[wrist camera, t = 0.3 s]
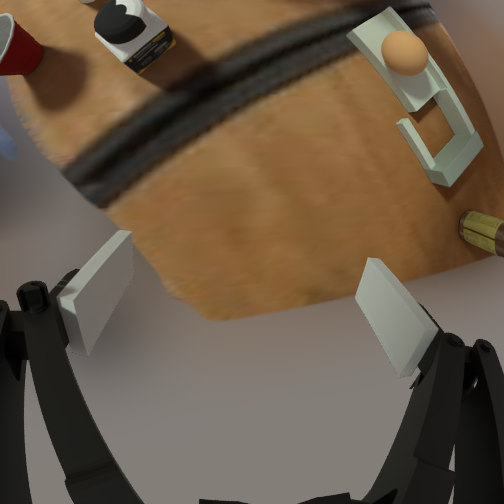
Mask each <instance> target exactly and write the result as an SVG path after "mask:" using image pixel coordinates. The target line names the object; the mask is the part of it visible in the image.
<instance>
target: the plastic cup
mask: <svg viewBox="0 0 504 504" xmlns="http://www.w3.org/2000/svg"><path fill="white" fill-rule="evenodd" d="M42 55H43V49H42V47H41V45H40V44H39V43H38V42H37V41H36V40H35V39H34V38H33V37H32V36H31V35H30V34H28V33H27V32H26V31H25V30H24V29H23V28H21V27H20V25H19V24H17V22H16V21H15V20H14V17H13V16H12V15H10V14H9V13H4V14H1V15H0V76H3V75H25V74H29V73H31V72H32V71H33V70H34V69H35V68H36V67H37V66H38V64H39V63H40V61H41V58H42Z"/></svg>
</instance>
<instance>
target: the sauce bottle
mask: <svg viewBox="0 0 504 504" xmlns="http://www.w3.org/2000/svg"><path fill="white" fill-rule="evenodd" d="M459 233H460V236H461V238H462V239H464V240H466V241H467V242H469V243H471V244H473V245H475V246H478V247H480V248H482V249H484V250H487V251H489V252H491V253H493V254H495V255H497V256H501V257H504V220H502V219H499V218H496V217H493V216H490V215H487V214H483V213H480V212H477V211H467V212H466V213H464V214H463V215H462V217H461V220H460V223H459Z"/></svg>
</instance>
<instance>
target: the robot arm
mask: <svg viewBox="0 0 504 504" xmlns="http://www.w3.org/2000/svg"><path fill="white" fill-rule="evenodd" d="M133 277H134V274H133V256H132V231H123V230H119V231H117V233H115V235H114V236H112V237H111V238H110V240H108V242H106V243H105V245H103V247H102V248H101V249H100V250H99V251H98V252H97V253H96V254H95V255H94V256H93V257H92V258H91V259H90V260H89V261H88V262H87V263H86V264H85V265H84V266H83V268H82V269H81V270H80V269H75V270H73V271H71V272H69V273H67V274H66V275H65V276H64V278H63V279H62V281H60V282H59V283H58V284H57V286H55V287H54V288H53V289H52V291H51V292H50V293H48V289H47V286H46V284H45V283H44V282H42V281H30V282H27V283H25V284H23V285H22V286H20V287H19V289H18V290H17V293H16V294H17V298H18V301H19V304H20V307H21V310H22V311H10V309H9V306H8V304H7V302H6V301H4V300H0V504H32V499H31V494H30V488H29V481H28V473H27V466H26V454H25V442H24V389H25V373H26V363H27V360H29V362H30V368H31V372H32V377H33V381H34V385H35V389H36V393H37V396H38V401H39V404H40V408H41V411H42V415H43V418H44V421H45V424H46V427H47V430H48V433H49V435H50V438H51V441H52V444H53V447H54V449H55V452H56V454H57V457H58V459H59V462H60V463H61V466H62V468H63V471H64V473H65V476H66V480H65V485H66V488H67V490H68V493H69V495H70V497H71V499H72V501H73V503H74V504H144V503H143V501H142V500H141V499H140V497H139V496H138V494H137V493H136V491H135V490H134V489H133V487H132V486H131V484H130V483H129V481H128V479H127V478H126V477H125V475H124V473H123V472H122V470H121V468H120V467H119V465H118V464H117V462H116V460H115V459H114V457H113V455H112V453H111V452H110V450H109V448H108V446H107V444H106V443H105V441H104V439H103V437H102V435H101V433H100V431H99V430H98V427H97V425H96V423H95V421H94V419H93V417H92V415H91V413H90V411H89V409H88V406H87V404H86V402H85V400H84V397H83V395H82V393H81V390H80V388H79V385H78V383H77V380H76V378H75V376H74V373H73V370H72V367H71V365H70V362H69V359H68V356H67V353H66V351H65V348H66V347H67V345H68V343H69V344H70V347H71V350H72V353H75V354H79V355H83V356H87V357H88V356H89V354H90V352H91V350H92V348H93V346H94V345H95V343H96V341H97V339H98V337H99V335H100V333H101V332H102V330H103V328H104V326H105V324H106V323H107V321H108V319H109V317H110V315H111V314H112V312H113V310H114V309H115V307H116V305H117V303H118V302H119V300H120V298H121V296H122V295H123V293H124V291H125V290H126V288H127V287H128V285H129V283H130V282H131V280H132V278H133ZM355 299H356V301H357V303H358V304H359V306H360V308H361V309H362V311H363V313H364V315H365V316H366V318H367V320H368V322H369V323H370V325H371V327H372V329H373V331H374V332H375V334H376V336H377V338H378V340H379V341H380V343H381V345H382V347H383V349H384V351H385V353H386V354H387V356H388V358H389V360H390V362H391V364H392V366H393V368H394V370H395V371H396V373H397V375H398V377H405V376H411V375H412V374H413V372H414V371H415V369H416V368H417V366H418V368H419V369H420V371H421V372H420V374H419V375H418V377H417V378H416V380H415V381H414V383H413V384H412V386H411V387H410V389H412V388H413V387H414V389H413V392H412V395H411V398H410V401H409V404H408V407H407V410H406V412H405V415H404V418H403V420H402V423H401V426H400V428H399V430H398V433H397V435H396V438H395V440H394V443H393V445H392V447H391V449H390V452H389V454H388V456H387V458H386V460H385V463H384V465H383V467H382V469H381V471H380V473H379V475H378V477H377V479H376V481H375V483H374V484H373V486H372V488H371V490H370V491H369V492H368V494H367V495H366V496H365V497H364V498H363V499H362V500H361V501H360V500H353V499H351V498H350V494H349V492H348V493H342V494H337V495H331V496H324V497H316V498H313V499H310V500H308V501H305V502H302V503H299V504H448V502H449V499H450V496H451V492H452V489H453V486H454V497H453V504H504V374H503V371H502V368H501V365H500V362H499V359H498V357H497V354H496V351H495V349H494V347H493V346H492V345H491V343H489V342H488V341H486V340H483V339H478V340H476V342H475V344H474V345H473V347H469V346H465V344H464V342H463V341H462V339H461V338H459V337H458V336H456V335H455V334H452V333H444V331H443V330H442V329H441V328H440V326H439V325H438V324H437V322H436V321H435V320H434V319H432V316H431V315H430V314H429V313H428V311H427V310H426V309H425V308H424V307H423V306H422V305H421V304H419V303H418V302H417V301H416V300H415V299H414V298H413V297H412V295H411V294H410V293H409V292H408V291H407V290H406V288H405V287H404V286H403V285H402V284H401V283H400V281H399V280H398V279H397V278H396V277H395V276H394V275H393V273H392V272H391V271H390V270H389V269H388V268H387V267H386V266H385V264H384V263H383V262H382V261H381V260H380V259H378V258H369V257H368V260H367V263H366V266H365V269H364V272H363V275H362V278H361V281H360V284H359V287H358V290H357V293H356V296H355ZM476 381H477V384H476V386H475V388H474V384H475V382H476ZM454 444H455V472H454V471H451V470H449V463H450V460H451V456H452V451H453V447H454ZM199 504H248V503H243V502H239V501H218V500H205V499H199Z"/></svg>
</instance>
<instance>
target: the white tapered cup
mask: <svg viewBox="0 0 504 504" xmlns="http://www.w3.org/2000/svg"><path fill="white" fill-rule="evenodd" d="M79 1H80V2H82V3H90V2H93V1H95V0H79Z"/></svg>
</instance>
